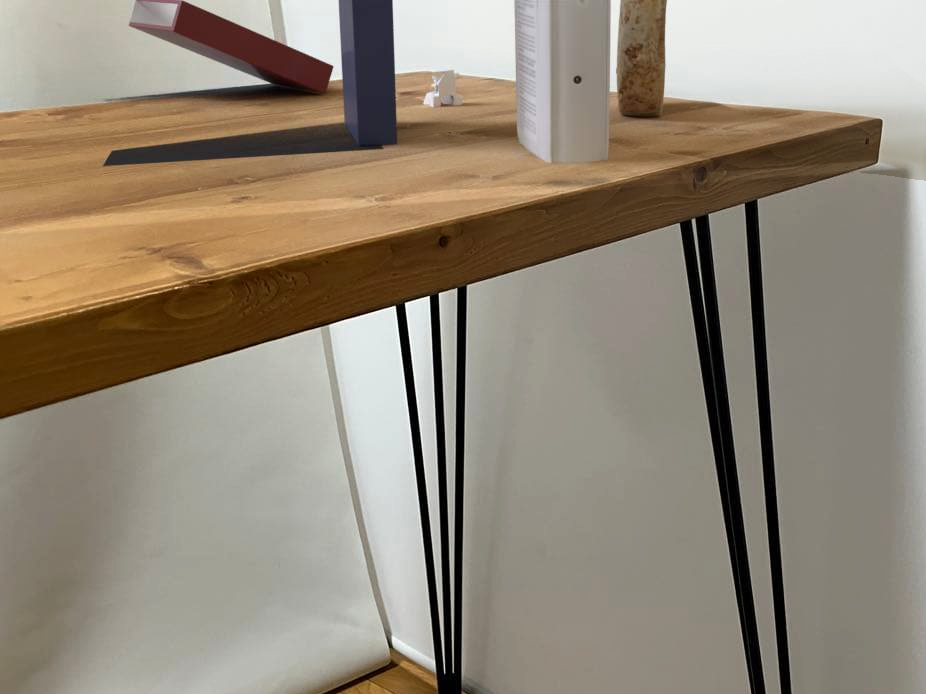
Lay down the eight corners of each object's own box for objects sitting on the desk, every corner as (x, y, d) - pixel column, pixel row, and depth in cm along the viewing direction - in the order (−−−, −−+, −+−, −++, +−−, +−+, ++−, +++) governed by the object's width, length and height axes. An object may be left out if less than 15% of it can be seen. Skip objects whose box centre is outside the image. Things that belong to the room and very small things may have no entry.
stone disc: (623, 108, 89) (624, -26, 85) (669, 108, 88) (673, -27, 84) (610, 129, 79) (611, -21, 75) (663, 129, 79) (666, -22, 75)
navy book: (347, -93, 66) (389, -92, 67) (333, -89, 75) (370, -88, 76) (358, 145, 71) (397, 144, 72) (344, 123, 80) (379, 122, 81)
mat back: (157, 122, 86) (156, 115, 86) (101, 105, 96) (100, 99, 95) (350, 100, 96) (349, 94, 96) (282, 87, 105) (281, 82, 105)
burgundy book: (173, 31, 86) (181, -1, 86) (127, 25, 94) (135, -4, 93) (325, 94, 96) (334, 66, 96) (273, 84, 103) (281, 58, 103)
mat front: (103, 174, 67) (101, 166, 67) (122, 140, 78) (121, 133, 78) (385, 156, 71) (384, 149, 70) (363, 126, 82) (363, 119, 82)
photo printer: (617, 169, 65) (620, -58, 61) (547, 174, 64) (543, -57, 60) (573, 141, 75) (572, -58, 70) (510, 145, 74) (505, -57, 69)
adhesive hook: (437, 114, 88) (435, 72, 86) (419, 110, 89) (417, 70, 88) (469, 110, 89) (467, 69, 88) (450, 106, 91) (448, 67, 90)
